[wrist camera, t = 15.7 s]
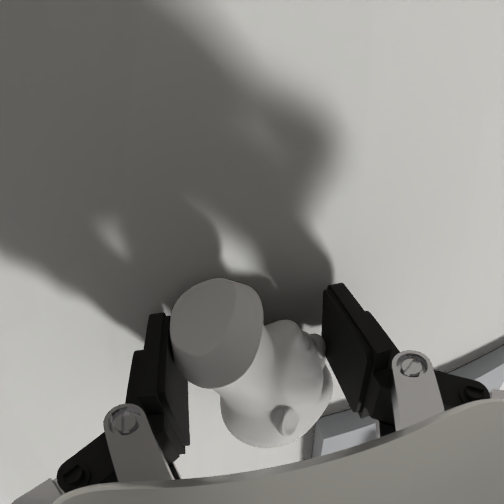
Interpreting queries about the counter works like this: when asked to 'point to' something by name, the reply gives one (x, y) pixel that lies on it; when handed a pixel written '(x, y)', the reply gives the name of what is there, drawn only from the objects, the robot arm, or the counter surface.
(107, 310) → the counter surface
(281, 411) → the smooth white sculpture
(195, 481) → the robot arm
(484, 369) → the base board
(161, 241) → the counter surface
